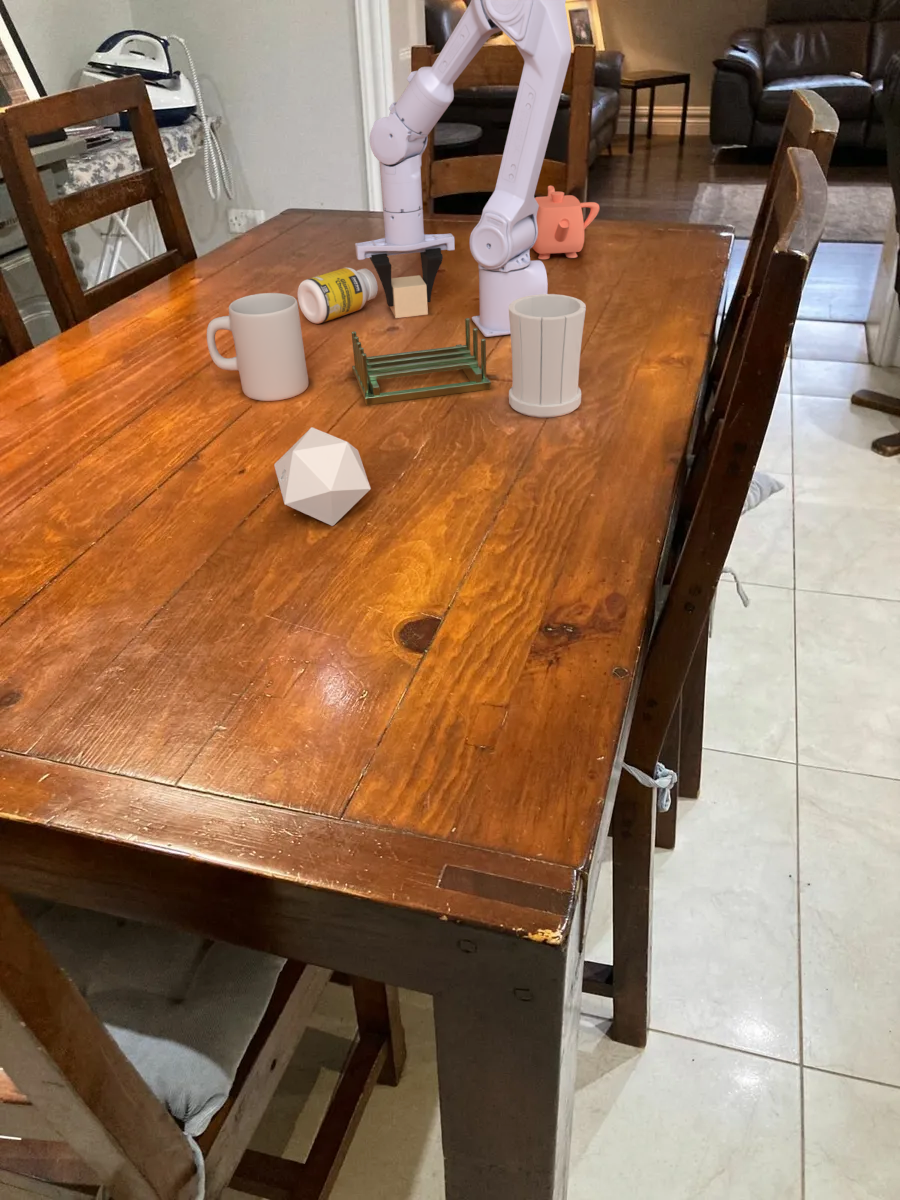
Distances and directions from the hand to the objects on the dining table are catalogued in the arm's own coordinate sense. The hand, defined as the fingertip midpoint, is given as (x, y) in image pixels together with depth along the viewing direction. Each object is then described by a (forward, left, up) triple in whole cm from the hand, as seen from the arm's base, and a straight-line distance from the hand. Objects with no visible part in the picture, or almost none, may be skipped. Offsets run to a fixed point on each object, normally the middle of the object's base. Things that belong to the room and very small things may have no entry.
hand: (408, 302), depth 142 cm
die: (+20, +57, -2) cm, 60 cm away
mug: (+24, +23, -2) cm, 33 cm away
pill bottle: (+15, +1, +2) cm, 15 cm away
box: (0, 0, -1) cm, 1 cm away
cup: (-9, +38, -2) cm, 39 cm away
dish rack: (+4, +27, -1) cm, 27 cm away
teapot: (-31, -22, -2) cm, 38 cm away
